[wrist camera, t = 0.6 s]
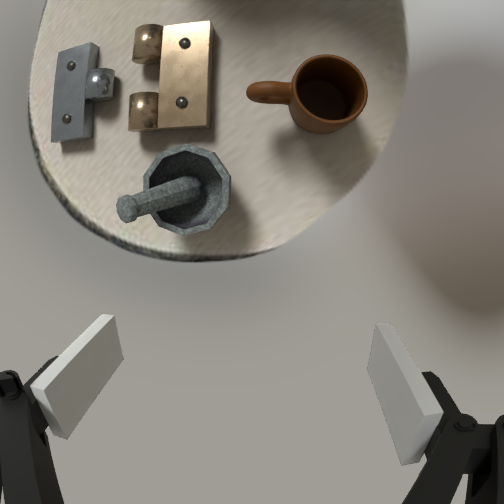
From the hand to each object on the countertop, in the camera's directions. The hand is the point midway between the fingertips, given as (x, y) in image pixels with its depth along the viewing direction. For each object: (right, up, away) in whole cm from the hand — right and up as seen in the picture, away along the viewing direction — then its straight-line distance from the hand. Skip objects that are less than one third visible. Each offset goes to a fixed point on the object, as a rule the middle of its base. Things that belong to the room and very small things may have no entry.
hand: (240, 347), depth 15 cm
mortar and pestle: (-7, +13, +25) cm, 29 cm away
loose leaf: (-22, +27, +22) cm, 41 cm away
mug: (+6, +22, +21) cm, 31 cm away
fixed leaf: (-9, +27, +21) cm, 35 cm away
